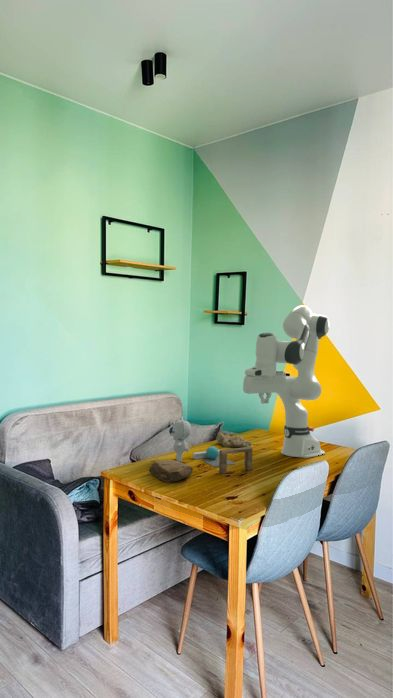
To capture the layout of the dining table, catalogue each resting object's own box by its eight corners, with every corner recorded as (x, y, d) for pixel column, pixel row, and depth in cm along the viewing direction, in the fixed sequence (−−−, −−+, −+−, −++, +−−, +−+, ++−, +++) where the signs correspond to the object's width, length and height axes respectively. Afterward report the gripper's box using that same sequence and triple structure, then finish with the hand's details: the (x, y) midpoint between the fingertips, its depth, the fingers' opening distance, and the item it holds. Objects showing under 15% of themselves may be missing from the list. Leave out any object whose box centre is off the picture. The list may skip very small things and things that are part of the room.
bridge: (219, 472, 205) (219, 450, 205) (248, 468, 212) (248, 447, 211) (222, 474, 202) (222, 451, 202) (251, 470, 209) (252, 448, 209)
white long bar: (221, 454, 235) (222, 449, 235) (224, 455, 232) (224, 450, 232) (193, 457, 228) (193, 452, 228) (195, 459, 225) (195, 453, 225)
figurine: (225, 430, 264) (256, 435, 253) (224, 444, 264) (255, 449, 252) (213, 431, 255) (246, 436, 243) (212, 445, 254) (245, 450, 243)
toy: (168, 456, 230) (169, 415, 229) (189, 456, 231) (190, 415, 230) (169, 465, 213) (170, 422, 212) (192, 465, 214) (193, 422, 213)
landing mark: (223, 457, 229) (223, 457, 229) (236, 464, 218) (236, 463, 218) (201, 460, 224) (201, 459, 224) (213, 466, 213) (213, 466, 213)
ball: (214, 455, 230) (215, 444, 229) (220, 460, 225) (221, 448, 224) (203, 456, 228) (204, 445, 227) (209, 461, 222) (210, 450, 221)
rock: (201, 467, 197) (180, 469, 185) (198, 484, 197) (177, 487, 185) (165, 455, 209) (143, 456, 197) (162, 471, 208) (140, 473, 196)
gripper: (281, 369, 208) (280, 401, 208) (241, 370, 199) (240, 403, 199) (290, 371, 202) (289, 403, 203) (249, 372, 193) (248, 405, 194)
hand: (264, 403), depth 201 cm, fingers closed
